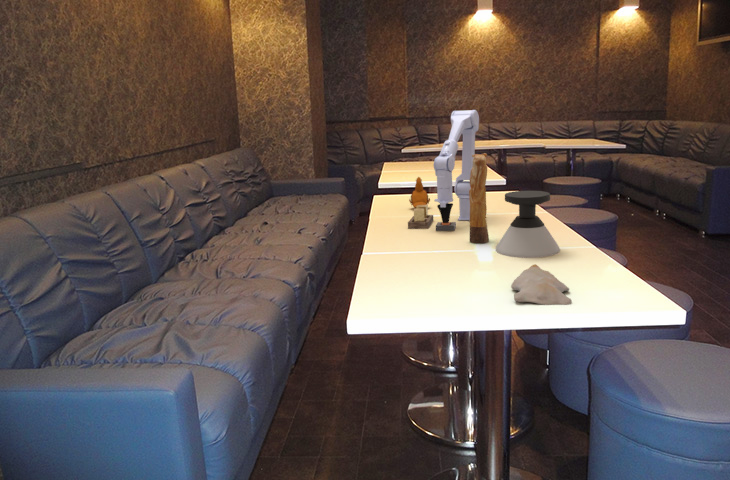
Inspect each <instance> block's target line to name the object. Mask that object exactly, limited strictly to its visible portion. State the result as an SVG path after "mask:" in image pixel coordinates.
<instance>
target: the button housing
mask: <svg viewBox="0 0 730 480" xmlns="http://www.w3.org/2000/svg"><path fill="white" fill-rule="evenodd" d="M449 222H450V225H442V221H440V222H439V221H437V223H436V224H435V232H449V231H450V232H454V231H455V230H456V228H457V222H456V221H449Z"/></svg>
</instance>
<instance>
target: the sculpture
mask: <svg viewBox="0 0 730 480" xmlns="http://www.w3.org/2000/svg"><path fill="white" fill-rule="evenodd" d="M487 156H488V154H487V153H485V152H484V153H481V154H479V153H475V154H474V155H472V157H473V167H472V169H471V173H470V180H469V181H470V187H471V189H470V190H469V200H470V220H469V243H472V244H476V245H477V244H478V245H479V244H486V243H488V242H489V241H490V237H489V231H488V230H489V229H488V223H487V219H486V218H487V189H486V183H487V177H488V166H487V158H486V157H487Z"/></svg>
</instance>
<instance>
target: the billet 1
mask: <svg viewBox="0 0 730 480" xmlns="http://www.w3.org/2000/svg"><path fill="white" fill-rule="evenodd" d="M428 206H429V204H427V205H418V206H417V207H416V208H415V209H420V208H424V218H428V215H429V213H428V212H429V211H428V210H429V208H428Z"/></svg>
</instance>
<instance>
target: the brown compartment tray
mask: <svg viewBox="0 0 730 480" xmlns="http://www.w3.org/2000/svg"><path fill="white" fill-rule="evenodd" d="M424 219H425V222H414V215H413V216H412V217H411V218H410V219H409V220H408V221H407V229H408V230H411V229H412V230H414V229H415V230H416V229H417V230H420V229H423V230H424V229H425V230H426V229H429V228H430V227H431V225H432V224H433V222H434V214H428V218H424Z"/></svg>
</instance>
